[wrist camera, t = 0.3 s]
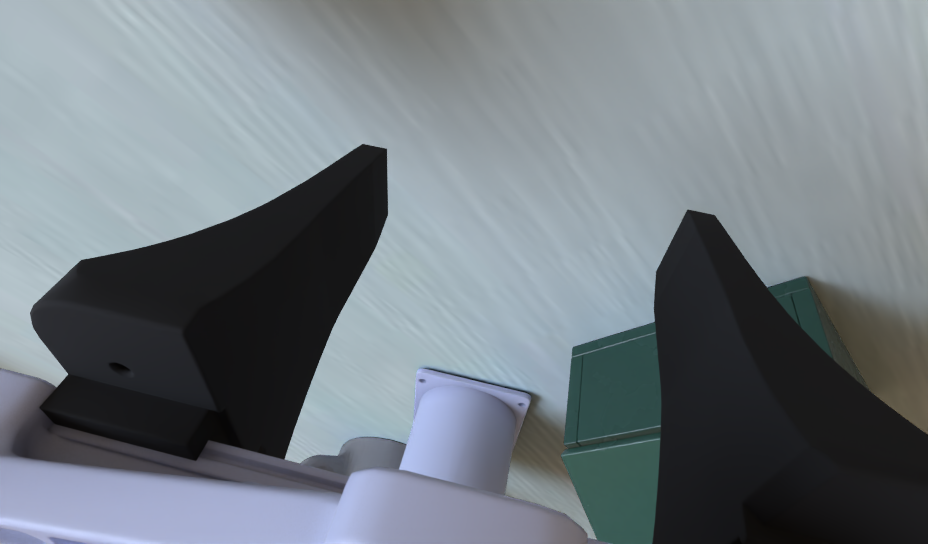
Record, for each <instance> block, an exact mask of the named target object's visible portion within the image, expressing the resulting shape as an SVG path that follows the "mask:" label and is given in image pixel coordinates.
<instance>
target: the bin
mask: <svg viewBox="0 0 928 544" xmlns="http://www.w3.org/2000/svg"><path fill="white" fill-rule="evenodd" d="M768 290H769V291H770V292H771V294H772V295H773V296H774V297H775V298H776V300H777V301H778V302H779V303H780V304H781V306H782V307H783V308H784V309H785V310H786V311H787V313H788V314H789V315H790V316H791V317H792V318H793V319H794V321H795V322H796V323H797V324H798V325H799V326H800V327H801V328H802V329H803V330H804V331H805V332H806V333H807V334H808V335H809V336H810V337H811V338H812V339H813V340H814V341H815V342H816V343H817V344H818V345H819V346H820V347H821V348H822V349H823V350H824V351H825V352H826V353H827V354H828V355H829V356H830V357H831V358H832V359H833V360H834V361H835V362H836V363H838V364H839V365H840V366H841V367H842V368H843V369H844V370H846V371H847V372H848V373H849V374H850V375H851V376H852V377H854V378H855V379H856V380H857V381H858V382H859V383H860V384H862V385H863V386H864V387H865V388H866V389H868V387H867V385H866V383H865V381H864V380H863V378H862V376H861V374H860V372H859V371H858V369H857V367H856V365H855V363H854V362H853V360H852V358H851V356H850V354H849V353H848V351H847V349H846V347H845V345H844V344H843V342H842V340H841V338H840V336H839V335H838V333H837V331H836V329H835V327H834V326H833V324H832V322H831V320H830V318H829V317H828V315H827V313H826V311H825V309H824V308H823V306H822V304H821V302H820V300H819V299H818V297H817V295H816V293H815V291H814V290H813V288H812V286H811V284H810V282H809V281H808V279H807V277H801V278H798V279H795V280H791V281H788V282H785V283H782V284H778V285H775V286H772V287H768ZM868 390H869V389H868ZM869 391H870V390H869ZM658 432H661V385H660V373H659V362H658V351H657V340H656V327H655V322H654V323H651V324H647V325H644V326H641V327H638V328H634V329H631V330H628V331H625V332H621V333H618V334H615V335H611V336H608V337H605V338H602V339H598V340H595V341H592V342H589V343H585V344H582V345H579V346H576V347H573V349H572V359H571V370H570V381H569V392H568V403H567V414H566V425H565V436H564V445H565V446H566V447H567V448H568V449H570V448H575V447H581V446H586V445H592V444H597V443H603V442H609V441H614V440H620V439H625V438H631V437H636V436H642V435H647V434H653V433H658Z"/></svg>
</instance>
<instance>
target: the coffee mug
mask: <svg viewBox="0 0 928 544" xmlns="http://www.w3.org/2000/svg"><path fill="white" fill-rule="evenodd" d="M405 448H406V445H405V444H402V443H399V442H395V441H392V440H387V439H381V438H374V437H362V438H355V439H352V440H349V441H347V442H346V443H345V444H344V445H343V446H342V448H341V450H340V453H339V455H338V456H330V455H316V456H312V457H309V458H307V459H305V460H304V461H302V462H301V463H300V464H303V465H307V466H311V467H315V468H319V469H323V470H327V471H330V472H334V473H338V474H342V475H346V476H350V475H351V474H352V473H353V472H356V471H358V470H362V469H367V468H372V467H377V466H378V467H385V468H393V469H399V467H400V464H401V461H402V458H403V455H404V451H405Z"/></svg>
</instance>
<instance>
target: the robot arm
mask: <svg viewBox="0 0 928 544" xmlns="http://www.w3.org/2000/svg"><path fill="white" fill-rule="evenodd" d="M387 216H388V190H387V149H385V148H380V147H375V146H370V145H365V144H362V145H360V146H359V147H357V148H356V149H354V150H353V151H351V152H350V153H348V154H347V155H345V156H344V157H342V158H341V159H339V160H338V161H336V162H335V163H333V164H332V165H330V166H329V167H327V168H325V169H324V170H322V171H321V172H319V173H318V174H316V175H314V176H313V177H311V178H310V179H308V180H307V181H305V182H303V183H302V184H300V185H298V186H296V187H295V188H293V189H291V190H289V191H288V192H286V193H284V194H282V195H280V196H279V197H277V198H275V199H273V200H272V201H270V202H268V203H266V204H264V205H262V206H260V207H257V208H255V209H253V210H251V211H249V212H247V213H244V214H242V215H240V216H238V217H235V218H233V219H230V220H228V221H225V222H222V223H220V224H217V225H214V226H211V227H209V228H206V229H203V230H200V231H198V232H195V233H192V234H189V235H186V236H183V237H179V238H176V239H173V240H169V241H166V242H162V243H158V244H154V245H151V246H147V247H143V248H139V249H134V250H130V251H125V252H120V253H115V254H110V255H105V256H100V257H95V258H90V259H84V260H81V261H80V262H79V263H78V264H77V265H75V266H74V267H73V268H72V269H71V270H70V271H69V272H68V273H67V274H66V275H65V276H64V277H63V278H62V279H61V280H60V281H59V282H58V283H57V284H55V285H54V286H53V287H52V288H51V289H50V290H49V291H48V292H47V293H46V294H45V295H44V296H43V297H42V298H41V299H40V300H39V301H38V302H37V303H36V304H34V305H33V308H32V310H31V312H30V315H31V320H32V325H33V328H34V330H35V331H36V333H37V334H38V336H39V338H40V339H41V340H42V341H43V343H44V344H45V345H46V346H47V348H48V349H49V350H50V351H51V353H52V354H53V355H54V356H55V358H56V359H57V360H58V361H59V363H60V364H61V365H62V367H63V368H64V369H65V370H66V372H67V373H68V376H67V377H66V378H65V379H64V380H63V381H62V382H61V383H60V385H59V386H58V387H57V388H56V387H55V386H54V385H52V384H51V383H49V382H47V381H45V380H42V379H40V378H37V377H33V376H29V375H25V374H21V373H17V372H14V371H10V370H6V369H2V368H0V544H610V543H606V542H602V541H598V540H595V539H591V538H587V533H586V532H585V531H584V529H583V528H582V527H581V526H580V525H578V524H577V523H576V522H575V521H573V520H572V519H571V518H570V517H568V516H567V515H566V514H563V513H561V512H558V511H556V510H553V509H550V508H548V507H545V506H542V505H540V504H536V503H532V502H528V501H524V500H520V499H516V498H512V497H508V496H505V492H506V485H507V479H508V473H509V467H510V461H511V455H512V452H513V449H514V447H515V444H516V441H517V438H518V435H519V433H520V430H521V427H522V424H523V422H524V419H525V416H526V413H527V410H528V408H529V405H530V402H531V396H530V395H529V394H527V393H524V392H520V391H516V390H512V389H508V388H503V387H499V386H495V385H491V384H487V383H483V382H478V381H474V380H470V379H466V378H462V377H458V376H453V375H449V374H445V373H441V372H437V371H433V370H428V369H424V368H421V369H418V371H417V374H416V388H415V405H414V423H413V426H412V429H411V432H410V435H409V439H408V442H407V445H406V448H405V451H404V455H403V458H402V461H401V464H400V467H399V469H393V468H385V467H378V466H377V467H372V468H367V469H362V470H358V471H356V472H353V473H352V474H351V475H350V476H346V475H342V474H338V473H334V472H330V471H327V470H323V469H319V468H315V467H311V466H307V465H303V464H299V463H295V462H292V461H288V460H284V459H285V456H286V453H287V450H288V446H289V443H290V440H291V437H292V434H293V431H294V428H295V426H296V423H297V420H298V417H299V414H300V411H301V409H302V406H303V403H304V400H305V397H306V395H307V392H308V389H309V387H310V384H311V381H312V379H313V376H314V374H315V371H316V368H317V366H318V363H319V360H320V358H321V355H322V353H323V351H324V348H325V346H326V343H327V341H328V338H329V336H330V333H331V331H332V328H333V326H334V324H335V322H336V320H337V318H338V316H339V314H340V312H341V310H342V308H343V307H344V305H345V303H346V301H347V299H348V297H349V296H350V294H351V292H352V290H353V288H354V286H355V285H356V283H357V281H358V279H359V277H360V276H361V274H362V272H363V270H364V268H365V266H366V264H367V263H368V261H369V259H370V257H371V255H372V253H373V251H374V249H375V248H376V245H377V243H378V240H379V237H380V235H381V232H382V229H383V227H384V224H385V221H386V218H387ZM654 314H655V327H656V340H657V351H658V362H659V373H660V385H661V433H660V455H659V473H658V487H657V500H656V512H655V524H654V533H653V543H652V544H928V434H926V433H925V432H923V431H922V430H920V429H919V428H917V427H916V426H915V425H913V424H912V423H910V422H909V421H908V420H906V419H905V418H904V417H902V416H901V415H900V414H899V413H897V412H896V411H895V410H893V409H892V408H891V407H889V406H888V405H887V404H885V403H884V402H883V401H881V400H880V399H879V398H878V397H876V396H875V395H874V394H873V393H871V392H870V391H869V390H868V389H866V388H865V387H864V386H863V385H862V384H860V383H859V382H858V381H857V380H856V379H855V378H854V377H852V376H851V375H850V374H849V373H848V372H847V371H846V370H844V369H843V368H842V367H841V366H840V365H839V364H838V363H836V362H835V361H834V360H833V359H832V358H831V357H830V356H829V355H828V354H827V353H826V352H825V351H824V350H823V349H822V348H821V347H820V346H819V345H818V344H817V343H816V342H815V341H814V340H813V339H812V338H811V337H810V336H809V335H808V334H807V333H806V332H805V331H804V330H803V329H802V328H801V327H800V326H799V325H798V324H797V323H796V322H795V321H794V319H793V318H792V317H791V316H790V315H789V314H788V313H787V311H786V310H785V309H784V308H783V307H782V306H781V304H780V303H779V302H778V301H777V300H776V298H775V297H774V296H773V295H772V294H771V292H770V291H769V290H768V288H767V287H766V286H765V285H764V283H763V282H762V281H761V279H760V278H759V277H758V275H757V274H756V273H755V271H754V270H753V269H752V267H751V266H750V265H749V263H748V262H747V260H746V259H745V258H744V256H743V255H742V253H741V252H740V250H739V249H738V248H737V246H736V245H735V243H734V242H733V240H732V239H731V237H730V236H729V235H728V233H727V232H726V230H725V229H724V227H723V226H722V225H721V223H720V222H719V220H718V219H717V218H716V216H715V215H712V214H707V213H702V212H697V211H692V210H687V212H686V214H685V216H684V218H683V220H682V222H681V224H680V226H679V228H678V230H677V231H676V233H675V235H674V237H673V239H672V241H671V243H670V245H669V247H668V249H667V251H666V253H665V255H664V257H663V259H662V261H661V263H660V265H659V267H658V269H657V271H656V283H655V299H654Z"/></svg>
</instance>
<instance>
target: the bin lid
mask: <svg viewBox="0 0 928 544" xmlns="http://www.w3.org/2000/svg"><path fill="white" fill-rule="evenodd" d="M660 433H661V432H658V433H653V434H647V435H642V436H636V437H631V438H625V439H620V440H614V441H609V442H603V443H597V444H592V445H586V446H581V447H575V448H570V449H566V450H565V451H564V452H563V453H562V454H561V457H562V460H563V462H564V464H565V467H566V469H567V471H568V473H569V476H570V478H571V480H572V483H573V485H574V487H575V490H576V492H577V494H578V496H579V499H580V501H581V503H582V506H583V508H584V510H585V513H586V515H587V517H588V519H589V522H590V524H591V526H592V529H593V531H594V533H595V536H596V538H597V540H598V541H602V542H606V543H610V544H652V543H653V533H654V524H655V512H656V500H657V487H658V473H659V455H660Z"/></svg>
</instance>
